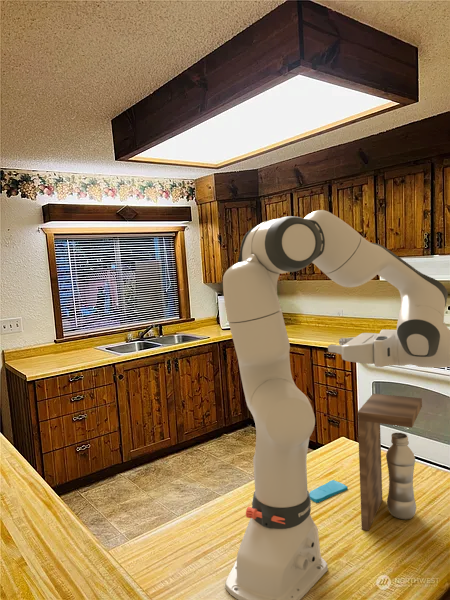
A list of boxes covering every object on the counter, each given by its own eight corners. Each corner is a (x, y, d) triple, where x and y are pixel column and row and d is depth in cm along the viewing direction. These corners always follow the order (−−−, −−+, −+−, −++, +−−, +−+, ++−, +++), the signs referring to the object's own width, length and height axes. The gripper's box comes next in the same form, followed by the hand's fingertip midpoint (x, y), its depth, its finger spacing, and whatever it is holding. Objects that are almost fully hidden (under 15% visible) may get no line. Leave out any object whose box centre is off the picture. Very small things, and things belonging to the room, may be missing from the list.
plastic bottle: (397, 504, 114) (395, 428, 112) (422, 516, 108) (420, 435, 106) (381, 514, 110) (378, 434, 108) (406, 526, 104) (404, 443, 103)
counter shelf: (414, 542, 98) (411, 418, 96) (361, 529, 104) (357, 411, 102) (424, 508, 111) (421, 398, 109) (376, 498, 117) (373, 393, 115)
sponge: (300, 492, 122) (315, 498, 117) (333, 478, 128) (348, 484, 123) (301, 497, 121) (316, 504, 116) (333, 484, 128) (349, 490, 123)
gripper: (396, 328, 121) (345, 326, 128) (379, 342, 104) (321, 339, 111) (396, 351, 122) (346, 348, 129) (380, 368, 104) (322, 364, 112)
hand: (334, 344), depth 120 cm, fingers open, 8 cm apart
